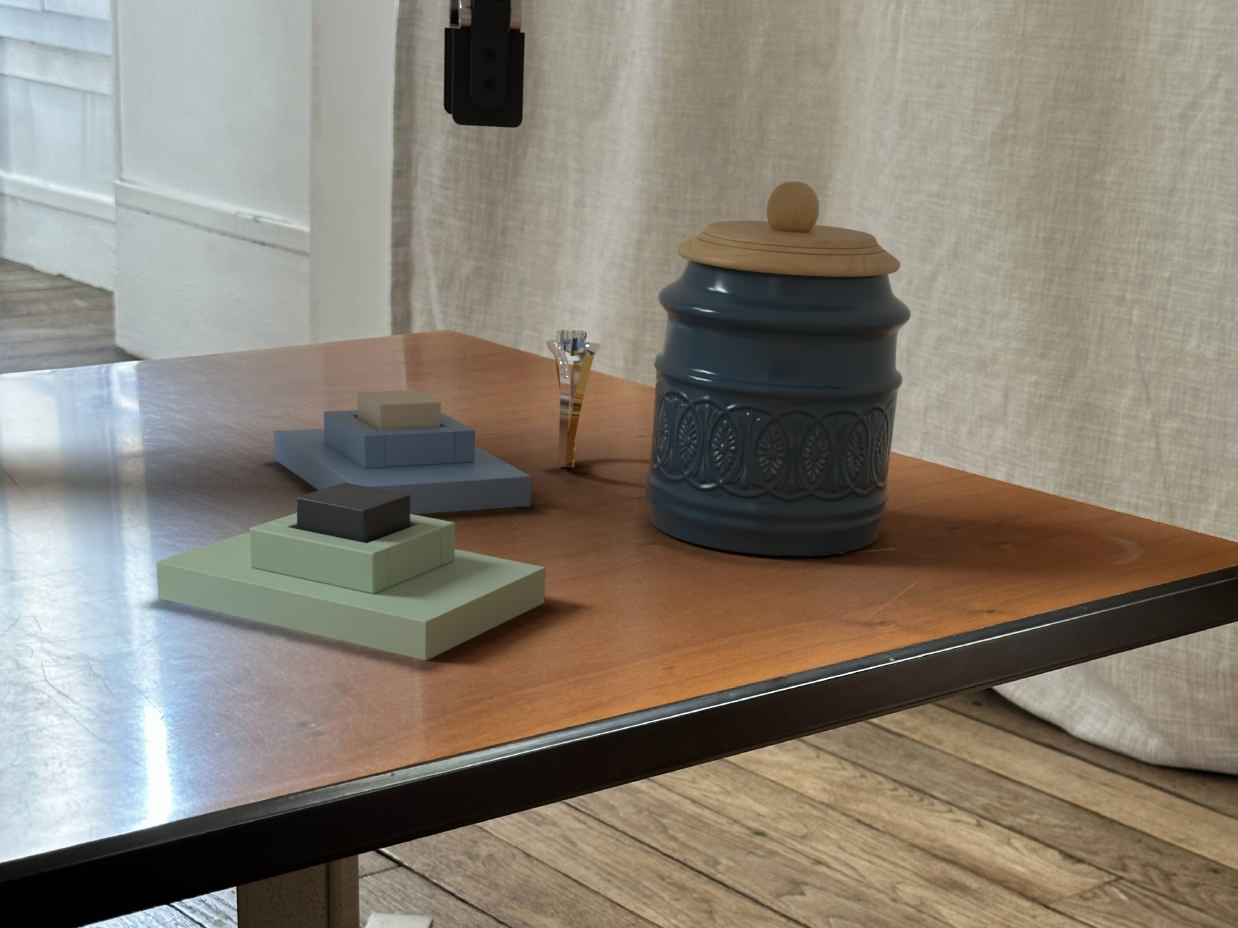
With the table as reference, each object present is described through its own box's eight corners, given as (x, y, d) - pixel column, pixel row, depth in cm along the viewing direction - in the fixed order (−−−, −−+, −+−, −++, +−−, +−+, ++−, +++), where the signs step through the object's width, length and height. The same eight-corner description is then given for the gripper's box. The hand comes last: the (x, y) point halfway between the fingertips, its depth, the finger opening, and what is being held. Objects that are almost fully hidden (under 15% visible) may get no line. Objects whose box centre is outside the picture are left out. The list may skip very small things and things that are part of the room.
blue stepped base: (274, 459, 103) (272, 399, 101) (432, 450, 107) (433, 392, 106) (358, 519, 92) (357, 452, 90) (531, 506, 96) (533, 442, 95)
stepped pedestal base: (157, 598, 78) (153, 521, 76) (294, 550, 86) (293, 479, 84) (425, 661, 72) (426, 578, 71) (544, 603, 80) (547, 528, 79)
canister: (899, 568, 89) (946, 200, 82) (644, 553, 89) (668, 183, 81) (867, 505, 101) (906, 179, 94) (642, 491, 101) (663, 164, 93)
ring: (545, 453, 108) (551, 320, 105) (597, 456, 108) (604, 323, 105) (534, 479, 102) (540, 338, 99) (589, 482, 102) (597, 342, 99)
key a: (296, 535, 77) (295, 496, 76) (344, 519, 80) (344, 481, 79) (364, 550, 75) (364, 510, 75) (410, 532, 78) (411, 494, 78)
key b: (356, 423, 99) (356, 391, 98) (416, 420, 100) (416, 389, 100) (380, 436, 96) (380, 404, 95) (441, 433, 98) (441, 401, 97)
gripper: (400, -274, 85) (399, 107, 92) (407, -339, 69) (406, 126, 77) (554, -261, 86) (542, 115, 93) (595, -323, 71) (577, 134, 78)
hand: (480, 119), depth 85 cm, fingers open, 9 cm apart
